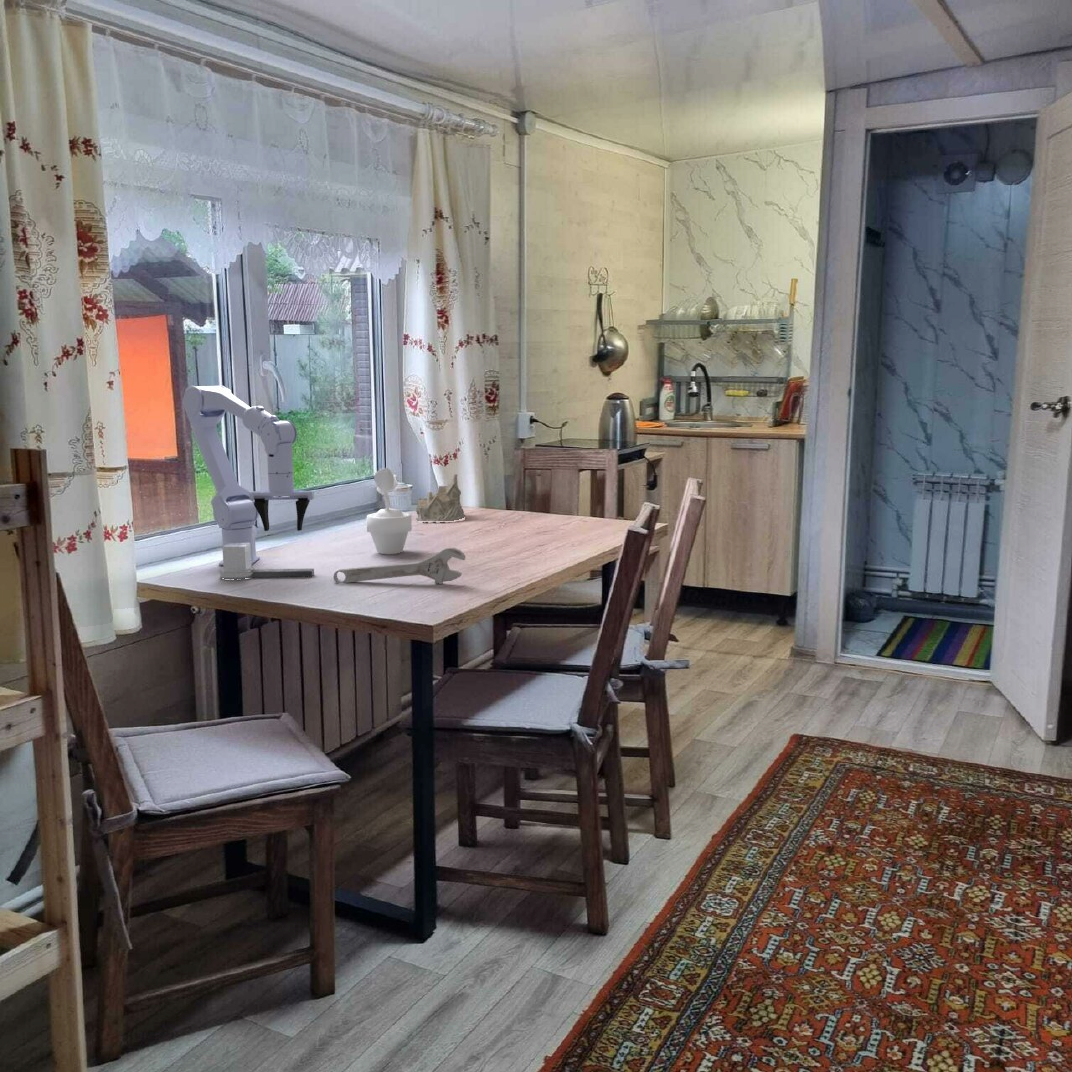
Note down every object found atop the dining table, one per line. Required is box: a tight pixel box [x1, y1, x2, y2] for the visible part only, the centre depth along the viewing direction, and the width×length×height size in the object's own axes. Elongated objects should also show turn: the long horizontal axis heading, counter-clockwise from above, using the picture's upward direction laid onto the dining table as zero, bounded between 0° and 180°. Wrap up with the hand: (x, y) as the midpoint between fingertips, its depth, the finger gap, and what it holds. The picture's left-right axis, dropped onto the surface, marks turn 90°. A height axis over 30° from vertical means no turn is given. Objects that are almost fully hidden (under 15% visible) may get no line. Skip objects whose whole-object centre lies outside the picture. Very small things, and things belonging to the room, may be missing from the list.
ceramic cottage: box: [415, 473, 466, 522], centre depth 316 cm, size 16×16×15 cm
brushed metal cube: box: [222, 543, 252, 573], centre depth 231 cm, size 5×5×6 cm
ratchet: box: [219, 567, 315, 581], centre depth 232 cm, size 8×21×5 cm, turn 93°
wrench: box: [333, 547, 466, 585], centre depth 224 cm, size 8×2×30 cm
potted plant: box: [366, 458, 413, 555], centre depth 260 cm, size 13×12×25 cm
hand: (283, 530), depth 238 cm, fingers open, 7 cm apart
